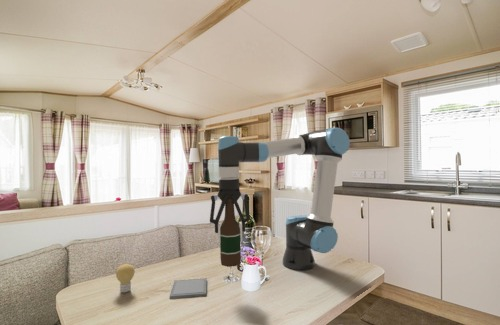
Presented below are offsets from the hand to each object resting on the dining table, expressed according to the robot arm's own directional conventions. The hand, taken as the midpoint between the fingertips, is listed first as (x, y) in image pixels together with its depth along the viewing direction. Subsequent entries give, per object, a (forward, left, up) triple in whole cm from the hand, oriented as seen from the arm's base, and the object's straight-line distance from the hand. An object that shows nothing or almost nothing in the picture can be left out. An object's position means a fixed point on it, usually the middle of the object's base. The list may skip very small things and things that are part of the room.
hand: (230, 240), depth 97 cm
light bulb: (+39, -10, -20) cm, 45 cm away
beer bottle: (0, 0, -8) cm, 8 cm away
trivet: (+15, -8, -20) cm, 26 cm away
